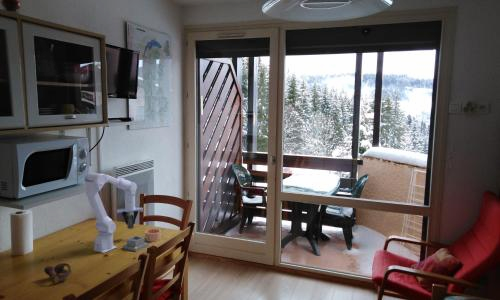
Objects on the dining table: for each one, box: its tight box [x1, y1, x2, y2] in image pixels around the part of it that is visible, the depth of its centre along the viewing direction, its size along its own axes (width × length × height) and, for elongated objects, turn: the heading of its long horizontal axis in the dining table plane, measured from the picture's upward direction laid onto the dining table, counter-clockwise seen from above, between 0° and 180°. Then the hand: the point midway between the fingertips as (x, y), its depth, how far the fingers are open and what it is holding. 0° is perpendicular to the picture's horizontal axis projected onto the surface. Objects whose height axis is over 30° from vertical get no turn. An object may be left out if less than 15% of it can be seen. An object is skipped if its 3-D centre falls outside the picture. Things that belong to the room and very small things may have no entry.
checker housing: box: [122, 235, 150, 252], centre depth 207 cm, size 10×10×5 cm
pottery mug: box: [43, 262, 73, 284], centre depth 167 cm, size 12×10×8 cm
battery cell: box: [126, 214, 135, 230], centre depth 218 cm, size 4×4×8 cm
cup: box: [144, 228, 162, 243], centre depth 219 cm, size 9×9×5 cm
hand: (130, 223), depth 219 cm, fingers closed on battery cell, 4 cm apart
